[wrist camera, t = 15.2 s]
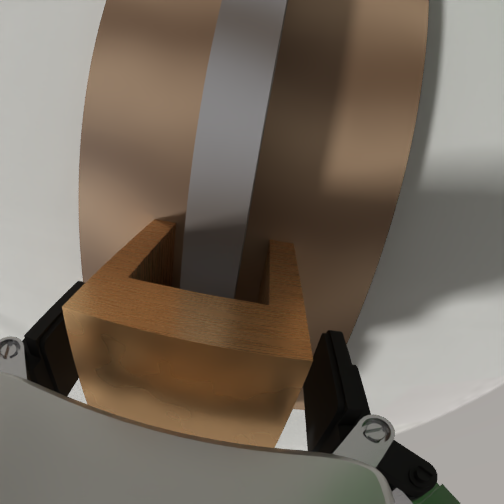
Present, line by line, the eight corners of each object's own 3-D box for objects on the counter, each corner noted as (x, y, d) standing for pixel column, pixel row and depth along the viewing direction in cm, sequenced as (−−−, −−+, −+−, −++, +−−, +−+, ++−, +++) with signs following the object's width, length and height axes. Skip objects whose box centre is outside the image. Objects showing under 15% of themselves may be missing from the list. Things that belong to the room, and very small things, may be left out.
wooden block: (154, 219, 13) (61, 306, 6) (293, 243, 13) (313, 360, 6) (152, 343, 15) (104, 448, 9) (262, 365, 16) (256, 482, 9)
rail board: (142, -56, 8) (97, -104, 3) (416, -18, 9) (469, -60, 3) (106, 353, 18) (71, 411, 13) (312, 393, 18) (320, 463, 13)
